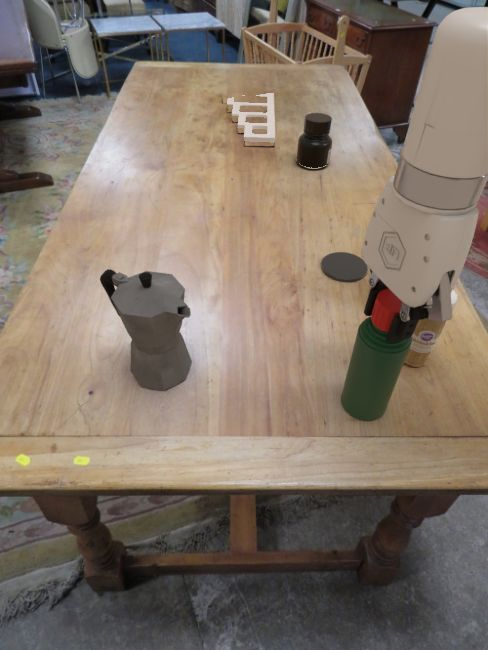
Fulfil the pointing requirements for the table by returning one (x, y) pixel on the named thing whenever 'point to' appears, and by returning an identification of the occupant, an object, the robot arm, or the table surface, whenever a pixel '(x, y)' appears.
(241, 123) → the holder
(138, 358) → the coffeepot
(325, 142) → the ink bottle
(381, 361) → the bottle
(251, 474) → the table surface
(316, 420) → the table surface
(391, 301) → the cap
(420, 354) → the sprinkles bottle
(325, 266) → the coaster
